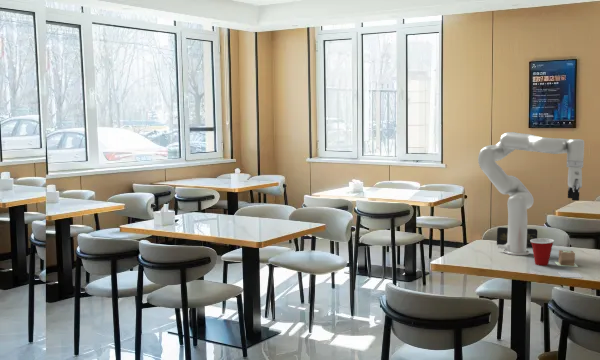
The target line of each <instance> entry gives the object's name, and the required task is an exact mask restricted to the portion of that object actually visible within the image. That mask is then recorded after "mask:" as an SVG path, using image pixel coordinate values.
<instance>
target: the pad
mask: <svg viewBox="0 0 600 360" xmlns="http://www.w3.org/2000/svg"><path fill="white" fill-rule="evenodd" d="M554 263H555V264H556V265H557V266H558V267H572V268H574V267H576V268H578V267H579V266H578V264H576V263H574V266H570V265H560V264H559V261H554Z"/></svg>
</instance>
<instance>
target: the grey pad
mask: <svg viewBox="0 0 600 360" xmlns="http://www.w3.org/2000/svg"><path fill="white" fill-rule="evenodd" d="M557 274H558V275H559V276H560V277H561V278H570V279H572V278H573V279H574V278H575V279H584V277H583V276H582V275H581V274H580V272H559V271H558V272H557Z"/></svg>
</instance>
